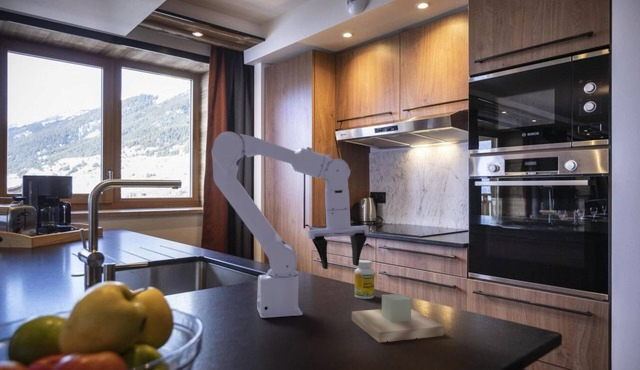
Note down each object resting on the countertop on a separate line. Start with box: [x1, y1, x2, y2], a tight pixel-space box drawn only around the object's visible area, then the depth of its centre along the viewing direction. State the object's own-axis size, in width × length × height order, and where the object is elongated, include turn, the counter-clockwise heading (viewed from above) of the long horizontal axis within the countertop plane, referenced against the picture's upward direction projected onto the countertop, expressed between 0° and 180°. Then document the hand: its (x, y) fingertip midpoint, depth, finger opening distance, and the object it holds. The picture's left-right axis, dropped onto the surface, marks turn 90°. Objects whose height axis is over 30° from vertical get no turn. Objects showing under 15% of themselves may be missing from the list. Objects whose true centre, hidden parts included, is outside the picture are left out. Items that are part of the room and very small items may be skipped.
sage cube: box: [381, 293, 412, 323], centre depth 87 cm, size 4×4×4 cm
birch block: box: [351, 308, 445, 343], centre depth 87 cm, size 14×14×2 cm
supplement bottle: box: [354, 259, 375, 300], centre depth 112 cm, size 5×5×10 cm
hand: (340, 266), depth 98 cm, fingers open, 7 cm apart
